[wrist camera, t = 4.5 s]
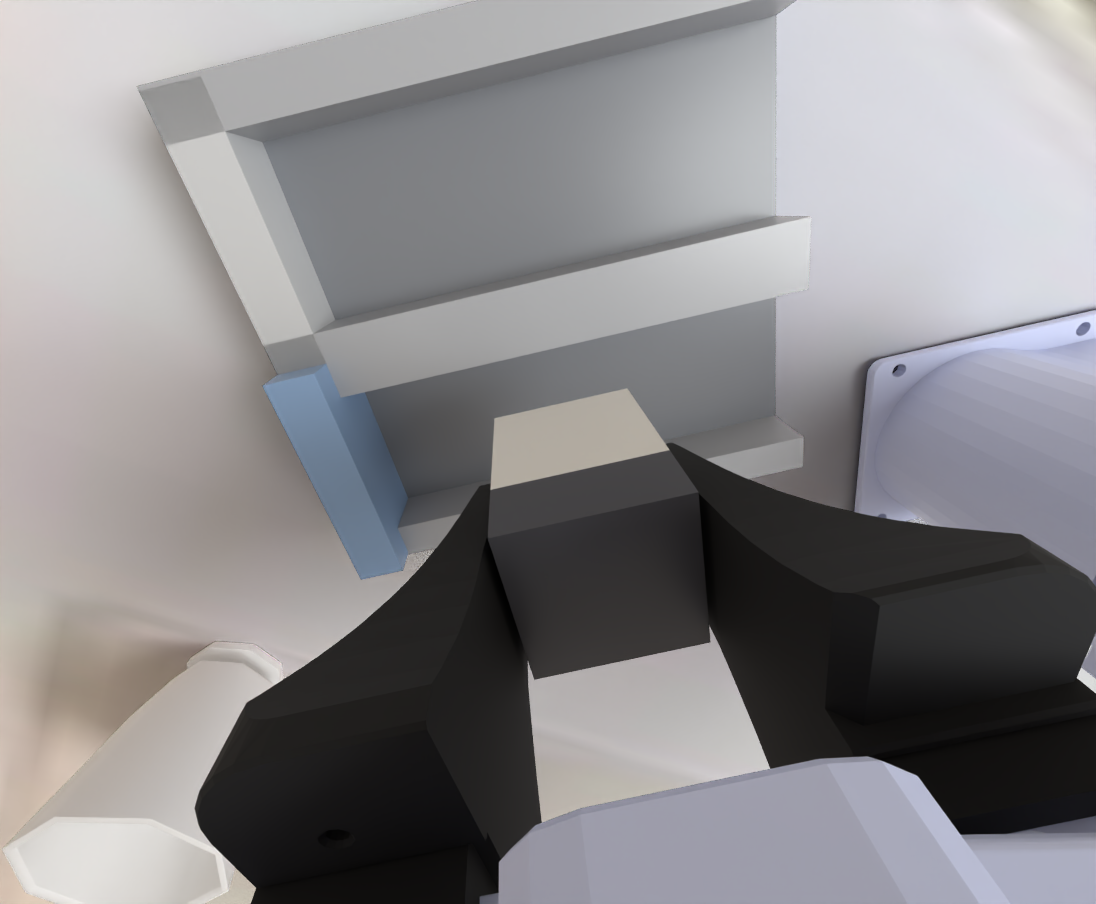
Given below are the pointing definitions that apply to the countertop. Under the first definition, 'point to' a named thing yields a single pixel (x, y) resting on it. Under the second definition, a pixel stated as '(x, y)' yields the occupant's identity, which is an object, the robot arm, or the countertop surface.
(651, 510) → the grey rectangular block
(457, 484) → the grey tray
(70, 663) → the countertop surface
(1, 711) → the countertop surface
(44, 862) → the cup
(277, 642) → the countertop surface
